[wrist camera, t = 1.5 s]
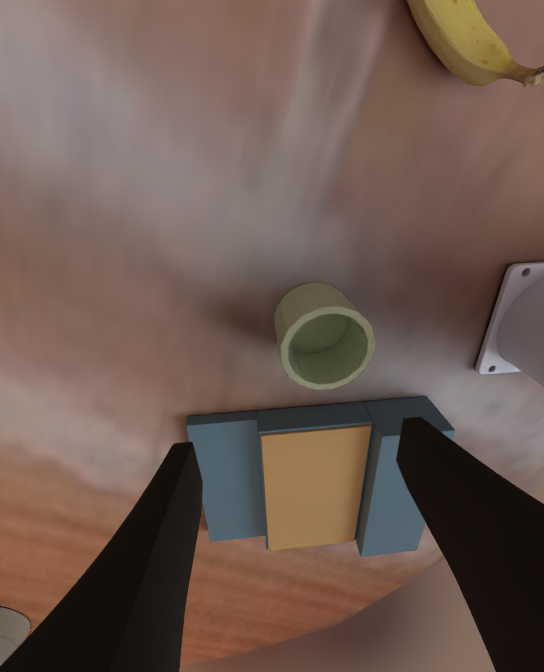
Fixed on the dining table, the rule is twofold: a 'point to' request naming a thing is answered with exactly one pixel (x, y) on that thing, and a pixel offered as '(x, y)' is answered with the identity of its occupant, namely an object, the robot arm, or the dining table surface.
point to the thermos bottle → (11, 632)
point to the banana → (468, 43)
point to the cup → (322, 337)
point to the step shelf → (311, 474)
